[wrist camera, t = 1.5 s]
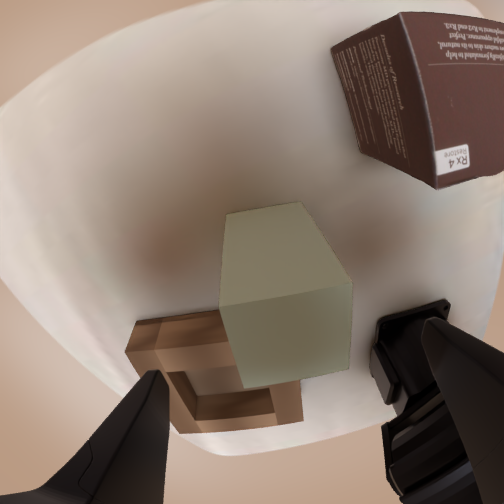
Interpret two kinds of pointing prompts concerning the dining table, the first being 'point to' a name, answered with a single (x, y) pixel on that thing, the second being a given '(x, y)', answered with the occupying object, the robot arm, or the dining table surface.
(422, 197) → the dining table surface
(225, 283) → the peg
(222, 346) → the socket block
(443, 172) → the box
